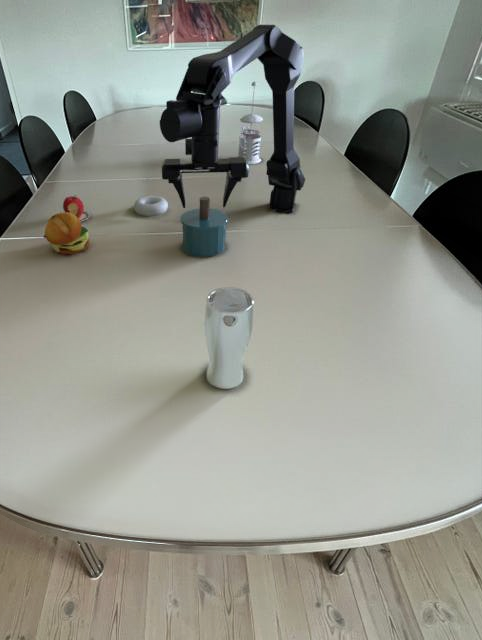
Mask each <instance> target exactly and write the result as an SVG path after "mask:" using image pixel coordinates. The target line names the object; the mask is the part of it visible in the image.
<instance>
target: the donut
mask: <svg viewBox="0 0 482 640" xmlns="http://www.w3.org/2000/svg"><path fill="white" fill-rule="evenodd" d="M168 208H169V204H168V201H167V200H166V199H165V198H163V197H161V196H159V195H146V196H142V197H140V198H138V199H137V200H135V202H134V205H133V209H134V211H135V213H136V214H138V215H140V216H144V217H154V216H160V215H162V214H165V213H166V211H167V210H168Z"/></svg>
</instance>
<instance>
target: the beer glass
mask: <svg viewBox="0 0 482 640" xmlns="http://www.w3.org/2000/svg"><path fill="white" fill-rule="evenodd" d="M254 302H255V301H254V297H253V296H252V294H251V293H250V292H248V291H246V290H244V289H242V288H239V287H231V286H229V287H228V286H227V287H220V288H217V289H214V290H212V291H211V292H209V293H208V295H207V297H206V305H205V312H204V336H205V341H206V347H207V352H208V364H207V368H206V373H205V377H206V380H207V381H208V383H209V384H210V385H211V386H213V387H215V388H218V389H222V390H229V389H234V388H237V387H239V386H240V385H241V384H242V382H243V381H244V369H243V361H244V358H245V353H246V351H247V348H248V345H249V343H250V339H251V335H252V330H253V322H254Z"/></svg>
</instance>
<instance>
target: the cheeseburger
mask: <svg viewBox="0 0 482 640" xmlns="http://www.w3.org/2000/svg"><path fill="white" fill-rule="evenodd" d="M88 232H89V229H87V227H84V226H82V221H81V222H80V220H79V219H78V217H77V216H75V215H74V214H72V213H68V212H65V211H64V212H63V211H62V212H58V213H55V214H54V215H52V216H51V217H50V218H49V221H48V222H47V224H46V226H45V229H44V235H43V238H44V239H46V241H47V242H48V243H49V244H50V245H51V247H52V249H53V250H54V251H55V252H56V253H59V254H61V255H62V254H63V255H72V254H74V255H75V254H78V253H81V252H84V251H85V250H86V249H87V248H88V247H89V244H90V239H89V233H88Z"/></svg>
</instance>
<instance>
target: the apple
mask: <svg viewBox="0 0 482 640" xmlns="http://www.w3.org/2000/svg"><path fill="white" fill-rule="evenodd" d="M62 203H63V204H62V209H63V211H64V212H68V213H72V214H74V215H75V216H77V217H78V219H79V220H80V222H81V223H82V222H83V221H86V220H88V219H89V218H90V217H91V214H90V213H89V212H87V211H84V210H85V208H84V203H83V201H82V199H81V198H79V196H77V194H74V196H72V195H71V196H67V197H65V198H64V200H63V202H62Z"/></svg>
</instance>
